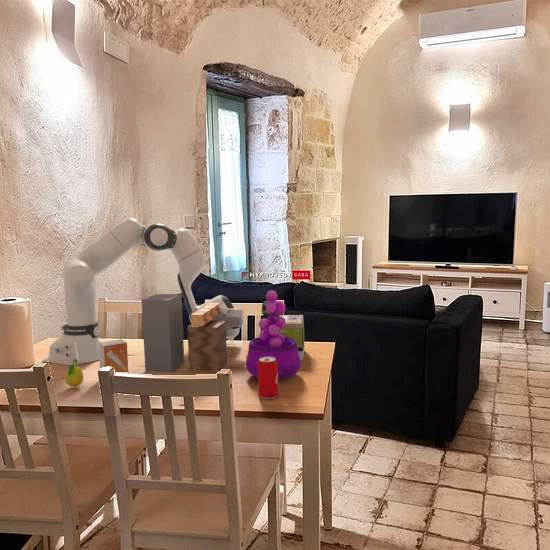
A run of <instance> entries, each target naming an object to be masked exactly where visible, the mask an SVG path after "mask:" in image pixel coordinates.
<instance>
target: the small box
mask: <svg viewBox="0 0 550 550" xmlns="http://www.w3.org/2000/svg"><path fill="white" fill-rule="evenodd" d="M99 358H100V359H99V369H100V368H102V367H106V366H111V367H114V369H115V372H128V373H129V357H128V342H127V341H125V340H123V339H122V338H121V339H120V338H119V339H112V340H108V341H107V340H106V341H101V342H100V341H99Z"/></svg>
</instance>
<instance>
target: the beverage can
mask: <svg viewBox="0 0 550 550" xmlns="http://www.w3.org/2000/svg"><path fill="white" fill-rule="evenodd" d="M257 365H258V377H257V388H258V389H257V391H258V392H257V393H258V396H259V397H260V398H261V399H263V400H272V399H276V398H277V397H278V396H279V394H280V393H279V380H278V363H277V361H276V358H275V357H261V358H259V362H258V364H257Z"/></svg>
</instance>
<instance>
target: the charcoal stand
mask: <svg viewBox="0 0 550 550" xmlns="http://www.w3.org/2000/svg"><path fill="white" fill-rule="evenodd" d="M182 298H183V295H182V293H180V294H179V293H177V294H176V293H155V294H153V295H150V296H147V297H146V298H143V299H141V311H142V312H141V314H142V332H143V333H142V334H143V335H142V336H143V352H144V370H145V372H150V371H154V373H155V372H157V373H172V372H174V371H175V370H177V369H178V368H179V367H180V366H181V365H182V364H184V363H185V345H184V325H183V303H182V302H183V300H182ZM183 362H184V363H183Z"/></svg>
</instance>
